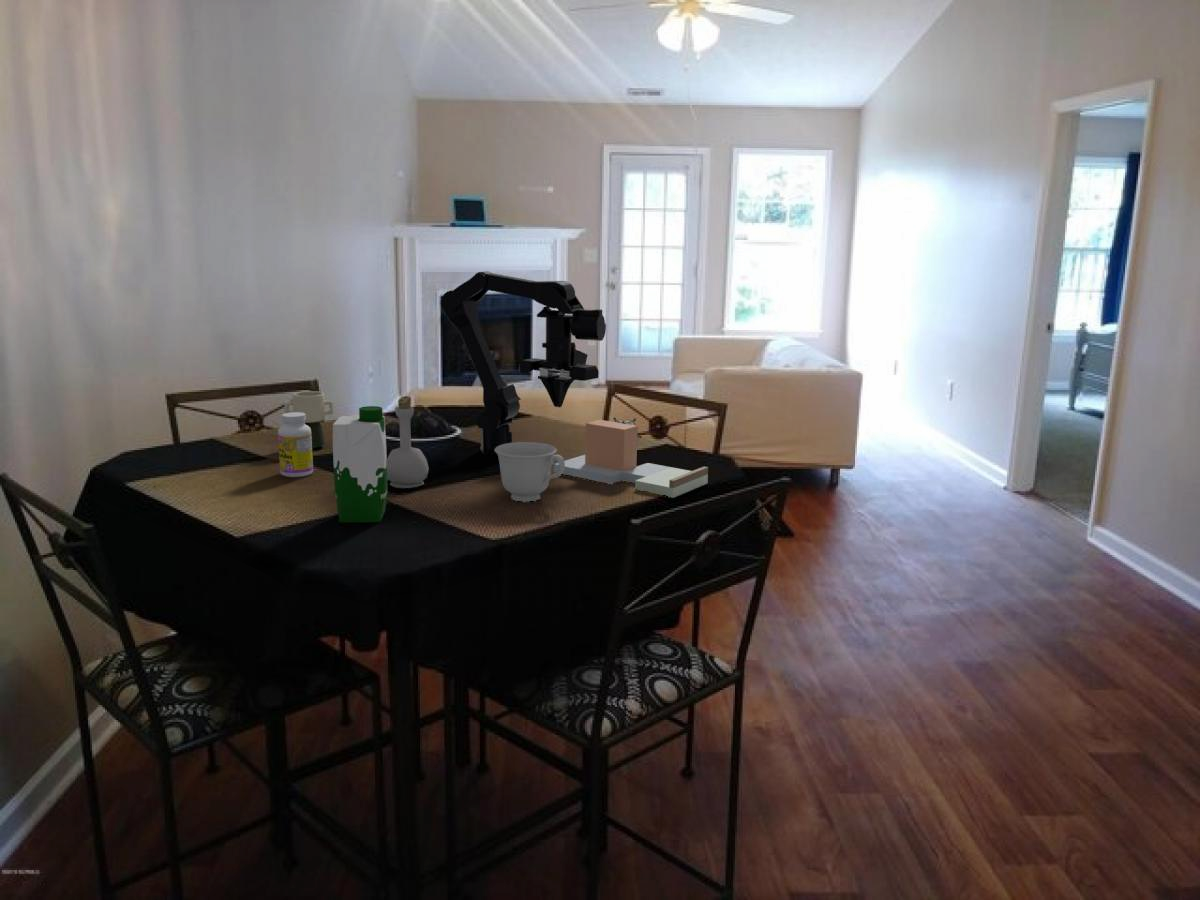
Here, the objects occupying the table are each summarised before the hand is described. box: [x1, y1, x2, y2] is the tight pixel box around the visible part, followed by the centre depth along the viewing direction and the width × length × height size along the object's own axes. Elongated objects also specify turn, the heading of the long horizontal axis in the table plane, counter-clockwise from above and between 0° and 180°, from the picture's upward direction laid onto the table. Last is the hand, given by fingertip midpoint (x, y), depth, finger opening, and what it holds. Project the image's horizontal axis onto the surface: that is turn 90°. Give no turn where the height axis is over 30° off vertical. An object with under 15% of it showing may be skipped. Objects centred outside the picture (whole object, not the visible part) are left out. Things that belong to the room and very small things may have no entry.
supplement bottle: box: [277, 412, 314, 478], centre depth 195 cm, size 7×7×13 cm
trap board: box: [553, 454, 709, 499], centre depth 198 cm, size 30×14×4 cm, turn 55°
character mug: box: [283, 390, 334, 449], centre depth 218 cm, size 11×7×13 cm, turn 103°
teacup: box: [495, 441, 565, 503], centre depth 180 cm, size 12×15×10 cm
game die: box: [613, 416, 643, 442], centre depth 221 cm, size 9×8×10 cm
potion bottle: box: [387, 395, 430, 489], centre depth 188 cm, size 9×9×18 cm
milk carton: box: [332, 405, 388, 523], centre depth 166 cm, size 9×9×20 cm
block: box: [584, 419, 639, 471], centre depth 199 cm, size 10×5×9 cm, turn 55°
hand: (557, 406), depth 211 cm, fingers closed
